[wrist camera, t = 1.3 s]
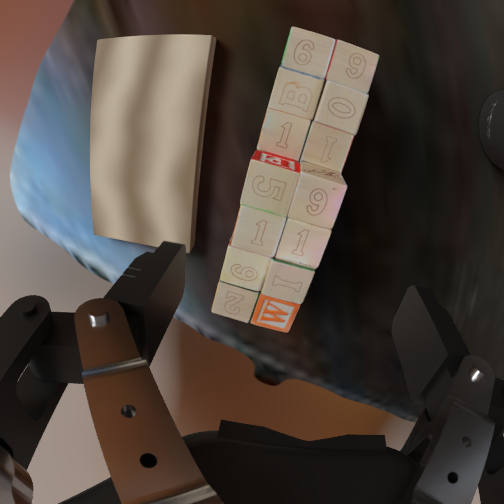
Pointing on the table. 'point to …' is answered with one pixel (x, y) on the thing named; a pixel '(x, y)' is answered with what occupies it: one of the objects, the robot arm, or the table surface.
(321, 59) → the stack of blocks
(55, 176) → the table surface
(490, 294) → the table surface
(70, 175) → the table surface
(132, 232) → the birch board
